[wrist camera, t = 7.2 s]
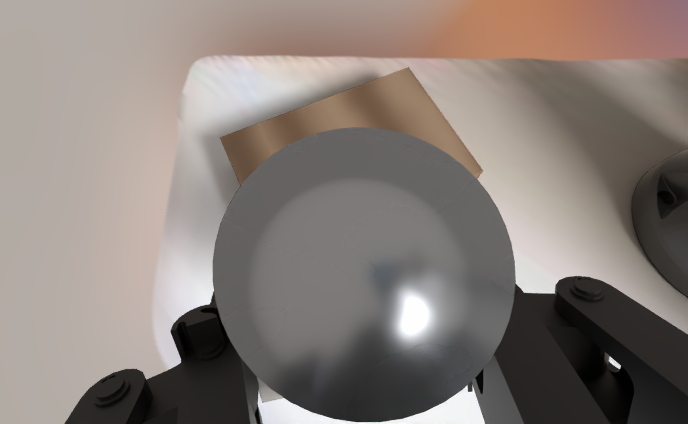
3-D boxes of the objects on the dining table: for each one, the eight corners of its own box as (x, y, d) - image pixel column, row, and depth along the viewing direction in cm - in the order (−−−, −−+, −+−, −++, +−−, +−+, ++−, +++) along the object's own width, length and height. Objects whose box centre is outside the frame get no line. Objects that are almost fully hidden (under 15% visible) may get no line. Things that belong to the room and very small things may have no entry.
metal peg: (363, 281, 19) (416, 92, 6) (402, 357, 18) (579, 323, 5) (290, 317, 18) (174, 189, 5) (325, 400, 17) (284, 495, 4)
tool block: (401, 96, 38) (408, 67, 34) (466, 192, 34) (483, 170, 30) (231, 162, 35) (219, 137, 31) (282, 278, 30) (275, 265, 27)
